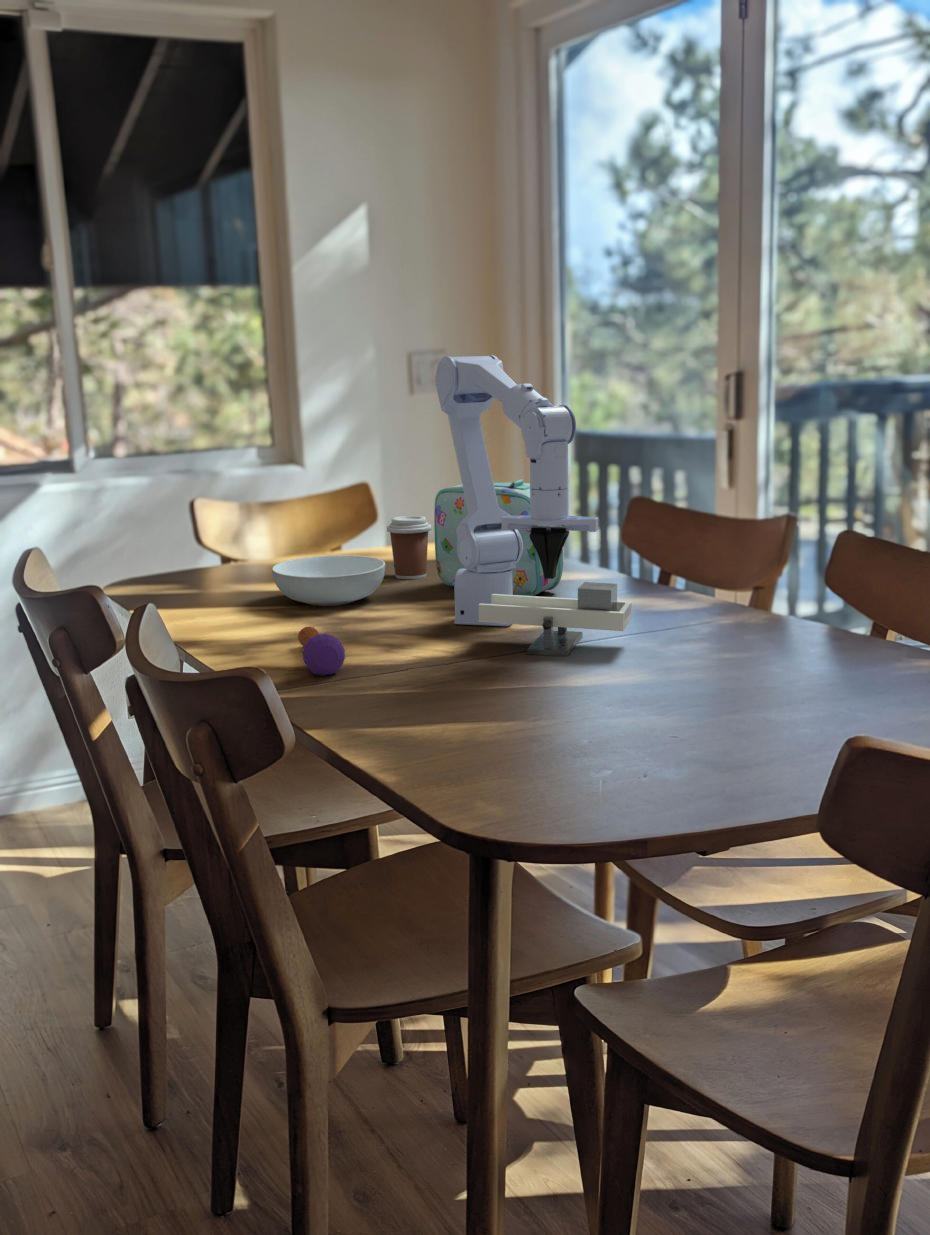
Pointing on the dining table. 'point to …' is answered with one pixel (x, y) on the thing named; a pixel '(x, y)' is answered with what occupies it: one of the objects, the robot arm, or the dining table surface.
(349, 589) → the serving bowl
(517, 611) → the balance beam
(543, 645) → the beam stand
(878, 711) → the dining table surface
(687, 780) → the dining table surface
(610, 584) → the block
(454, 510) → the lunch box
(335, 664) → the kendama
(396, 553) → the coffee cup
